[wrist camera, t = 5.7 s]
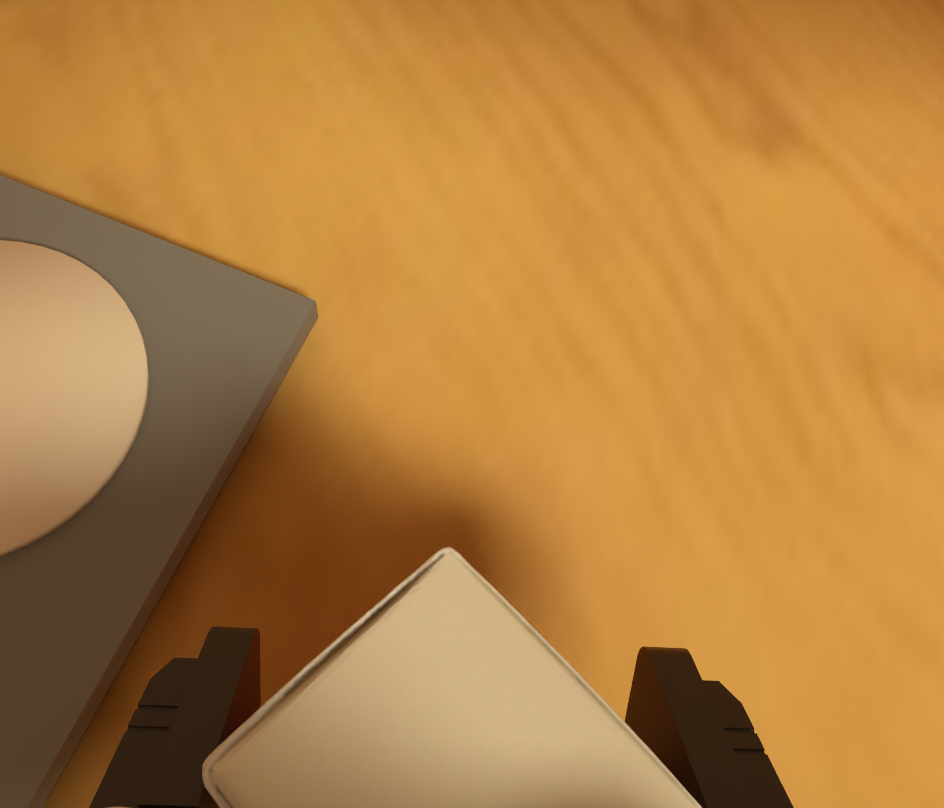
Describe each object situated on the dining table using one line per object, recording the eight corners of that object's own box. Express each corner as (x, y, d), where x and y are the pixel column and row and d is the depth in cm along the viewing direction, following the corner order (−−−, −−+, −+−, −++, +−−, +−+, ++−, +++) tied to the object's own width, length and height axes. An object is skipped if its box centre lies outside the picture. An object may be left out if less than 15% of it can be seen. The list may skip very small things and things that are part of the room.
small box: (590, 802, 17) (737, 829, 10) (440, 977, 16) (485, 1158, 8) (425, 622, 18) (450, 529, 11) (272, 769, 17) (185, 772, 10)
